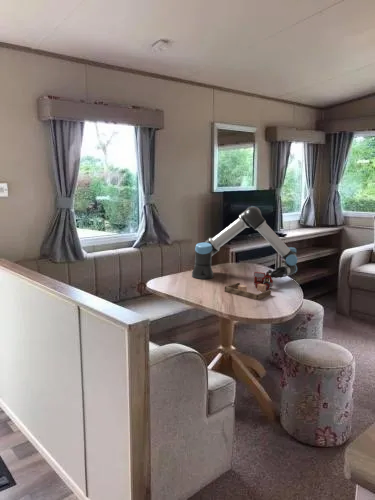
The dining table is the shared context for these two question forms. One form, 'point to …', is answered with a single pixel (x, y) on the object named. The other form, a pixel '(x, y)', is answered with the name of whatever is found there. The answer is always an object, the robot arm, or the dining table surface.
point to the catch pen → (246, 294)
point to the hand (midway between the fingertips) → (265, 277)
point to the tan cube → (261, 287)
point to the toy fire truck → (260, 278)
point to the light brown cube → (242, 288)
